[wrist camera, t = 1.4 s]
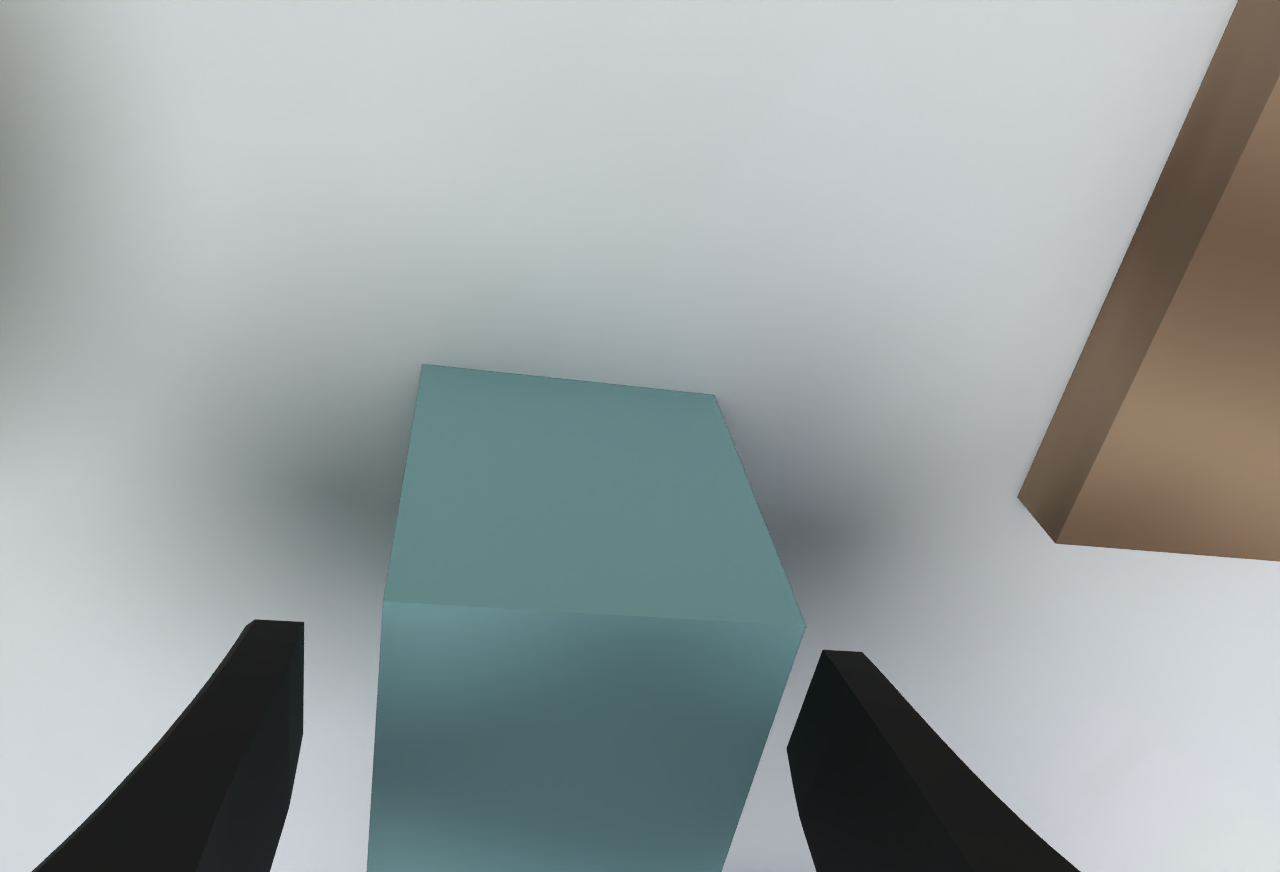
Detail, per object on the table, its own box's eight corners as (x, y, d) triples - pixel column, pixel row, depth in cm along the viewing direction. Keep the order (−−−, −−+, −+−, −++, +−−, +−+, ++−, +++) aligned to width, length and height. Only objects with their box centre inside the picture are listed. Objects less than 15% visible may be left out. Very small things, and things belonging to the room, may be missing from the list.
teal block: (659, 612, 19) (716, 884, 14) (405, 597, 18) (365, 883, 13) (714, 394, 17) (806, 625, 12) (422, 362, 16) (383, 601, 11)
